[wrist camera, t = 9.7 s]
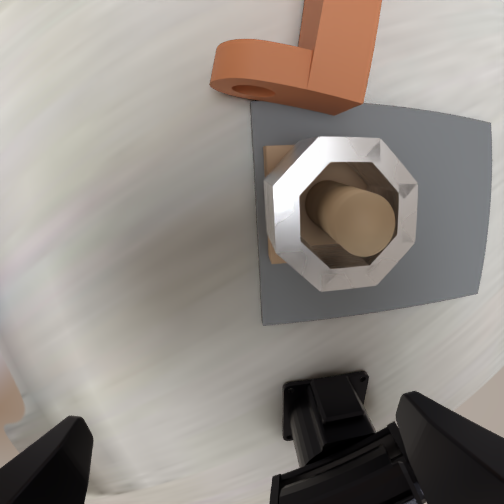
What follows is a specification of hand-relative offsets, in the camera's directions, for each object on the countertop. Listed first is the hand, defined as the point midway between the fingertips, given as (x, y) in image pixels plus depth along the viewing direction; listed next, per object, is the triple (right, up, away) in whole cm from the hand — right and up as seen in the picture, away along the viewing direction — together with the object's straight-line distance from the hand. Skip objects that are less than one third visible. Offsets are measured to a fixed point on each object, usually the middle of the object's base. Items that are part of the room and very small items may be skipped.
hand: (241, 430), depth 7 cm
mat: (+9, +7, +11) cm, 16 cm away
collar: (+4, +7, +8) cm, 12 cm away
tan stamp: (+4, +8, +10) cm, 13 cm away
